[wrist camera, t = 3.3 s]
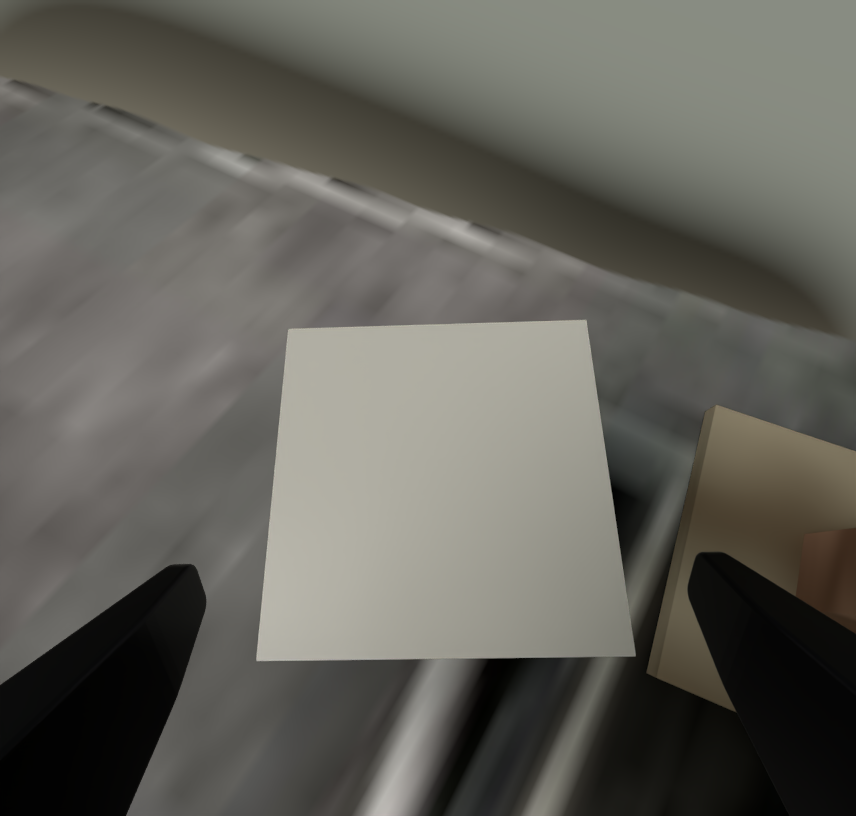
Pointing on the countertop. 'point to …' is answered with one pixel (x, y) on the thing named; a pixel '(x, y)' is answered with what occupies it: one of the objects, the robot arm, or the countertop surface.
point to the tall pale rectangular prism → (442, 498)
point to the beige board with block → (759, 533)
